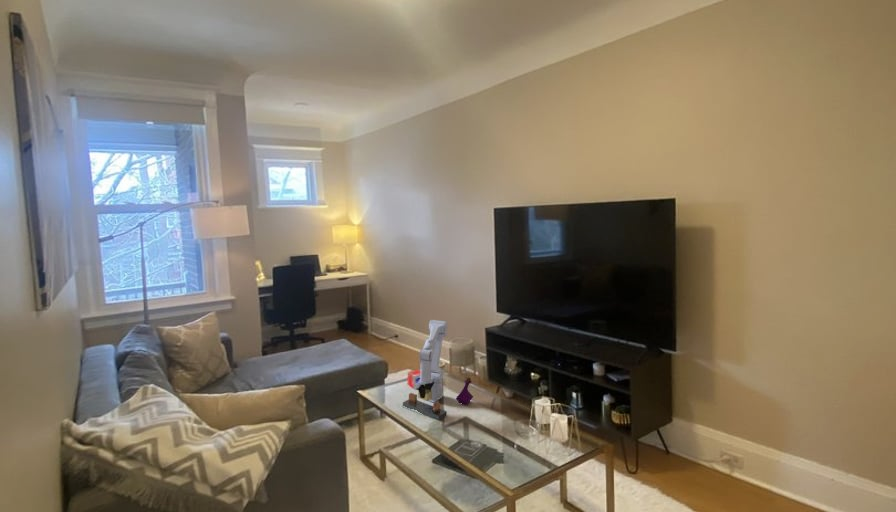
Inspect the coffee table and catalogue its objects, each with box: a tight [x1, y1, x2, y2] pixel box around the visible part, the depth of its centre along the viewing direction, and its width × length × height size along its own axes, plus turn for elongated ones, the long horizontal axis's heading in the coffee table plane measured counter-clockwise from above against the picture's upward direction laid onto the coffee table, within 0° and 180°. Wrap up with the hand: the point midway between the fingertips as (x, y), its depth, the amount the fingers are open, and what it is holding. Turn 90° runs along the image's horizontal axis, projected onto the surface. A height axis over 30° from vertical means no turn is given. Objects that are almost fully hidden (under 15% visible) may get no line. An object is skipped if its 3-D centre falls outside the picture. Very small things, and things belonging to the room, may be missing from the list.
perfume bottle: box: [455, 371, 474, 405], centre depth 260 cm, size 8×8×18 cm
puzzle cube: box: [406, 369, 425, 390], centre depth 282 cm, size 8×8×8 cm
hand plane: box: [402, 392, 448, 421], centre depth 249 cm, size 7×24×7 cm, turn 55°
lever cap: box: [417, 389, 432, 402], centre depth 249 cm, size 4×6×4 cm, turn 55°
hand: (424, 396), depth 249 cm, fingers closed on lever cap, 4 cm apart
